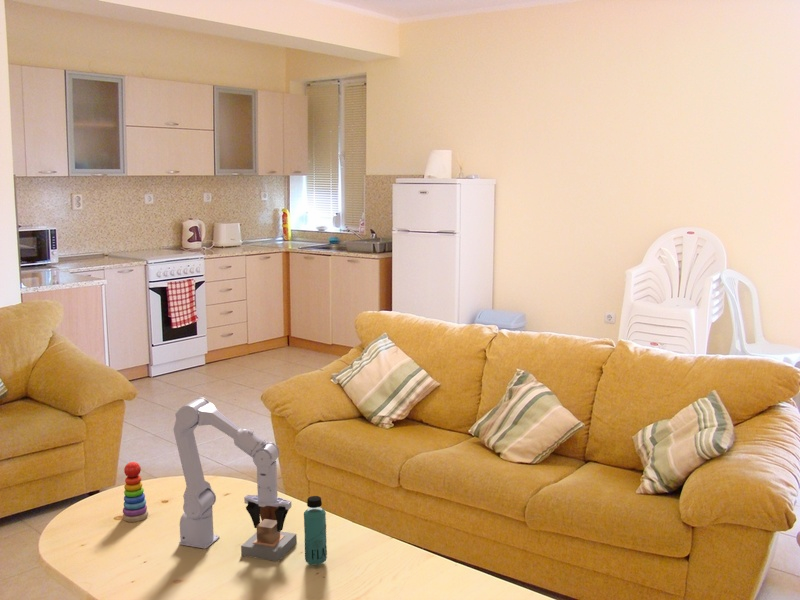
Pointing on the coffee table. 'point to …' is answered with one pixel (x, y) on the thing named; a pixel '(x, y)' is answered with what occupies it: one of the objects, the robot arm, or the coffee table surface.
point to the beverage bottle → (315, 532)
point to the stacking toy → (134, 494)
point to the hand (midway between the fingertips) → (268, 528)
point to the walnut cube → (267, 531)
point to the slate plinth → (269, 547)
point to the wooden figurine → (268, 513)
